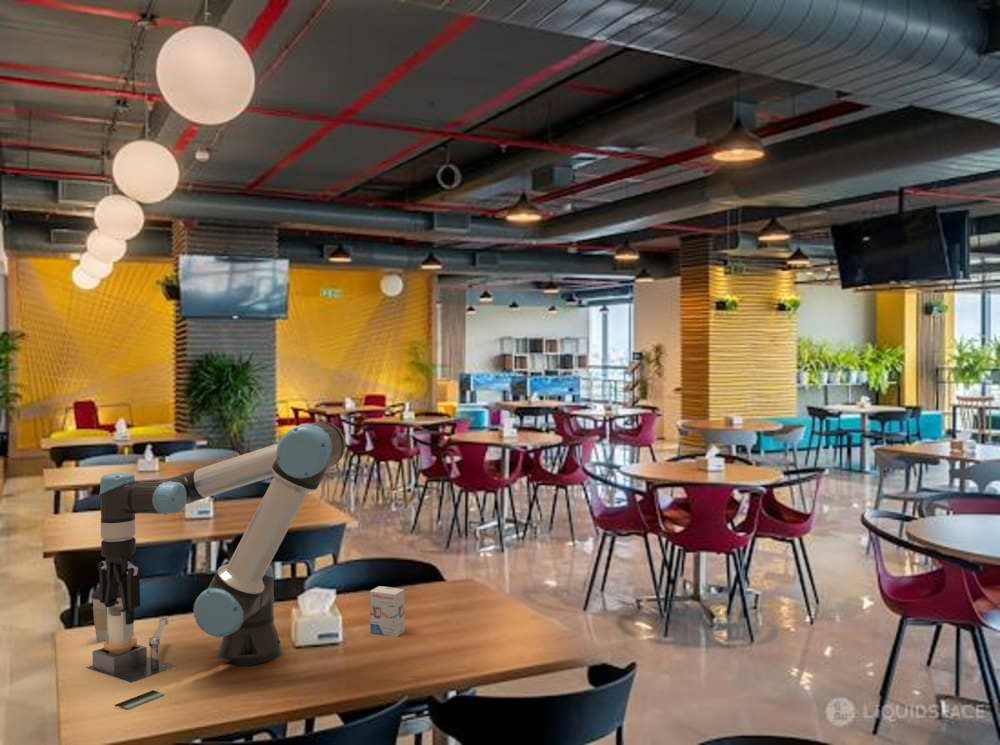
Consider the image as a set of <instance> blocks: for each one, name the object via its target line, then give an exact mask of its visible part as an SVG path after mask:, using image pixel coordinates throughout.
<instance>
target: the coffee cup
mask: <svg viewBox="0 0 1000 745" xmlns="http://www.w3.org/2000/svg"><path fill="white" fill-rule="evenodd" d="M91 594H92V595H91V599H92V602H93V603H92V604H93V606H92V612H93V622H94V629H95V636H96V644H101V643H103V642H107V641H109V635H107V617H106V607H105V605H104V603H100V586H98V587H96V589H95V591H93V592H91ZM104 597H105V596H104ZM117 601H118V602H119V603H118V604H115V605H119V607H123V604H122V598H121V593H120V587H119V588H118V595H117Z"/></svg>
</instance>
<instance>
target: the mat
mask: <svg viewBox="0 0 1000 745" xmlns="http://www.w3.org/2000/svg"><path fill="white" fill-rule="evenodd" d="M164 696H165V693H163V692H160V691H157V690H154V689H152V690H150V691H147V692H145V693H142V694H139V695H137V696H135V697H131V698H129V699H126V700H124V701H123V700H122V701H121V702H118V703H115V704H114V706H115V707H118V708H121V709H124V710H131V709H133V708H135V707H139V706H141V705H143V704H146V703H149V702H151V701H154V700H157V699H158V698H162V697H164Z"/></svg>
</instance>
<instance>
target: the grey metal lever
mask: <svg viewBox="0 0 1000 745" xmlns="http://www.w3.org/2000/svg"><path fill="white" fill-rule="evenodd" d="M167 625H169V617H161V618H160V619H159V623H158V626H157V628H156V630H155V631H154V632H155V633H154V634H153V636H152V637H151V636H150V637H149V638H148V646H149V647H155V646H160V644H161V637H162V634H163V633H164V630H165V628H166V626H167Z"/></svg>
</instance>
